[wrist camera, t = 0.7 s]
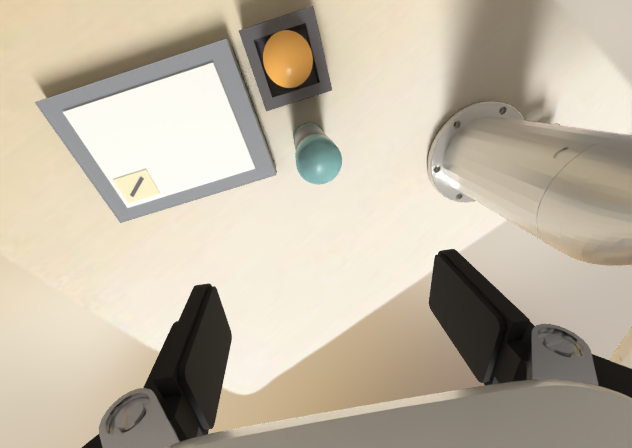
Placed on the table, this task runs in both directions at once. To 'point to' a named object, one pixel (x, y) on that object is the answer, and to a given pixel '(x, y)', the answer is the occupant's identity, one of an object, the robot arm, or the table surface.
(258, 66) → the button housing
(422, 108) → the table surface
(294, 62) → the button
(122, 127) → the drawing board
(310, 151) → the marker
